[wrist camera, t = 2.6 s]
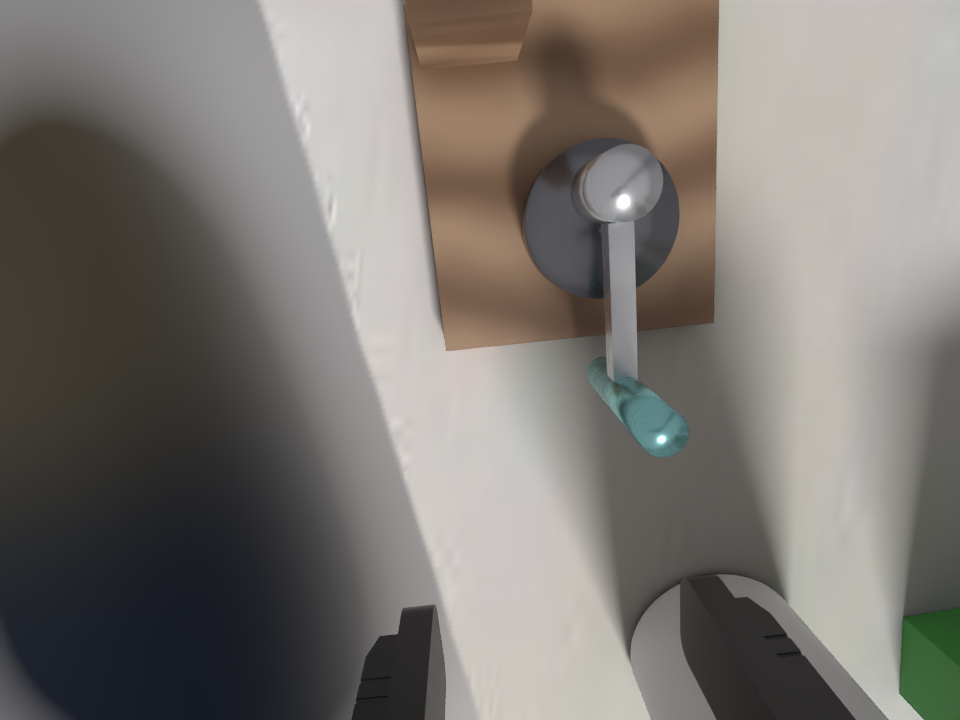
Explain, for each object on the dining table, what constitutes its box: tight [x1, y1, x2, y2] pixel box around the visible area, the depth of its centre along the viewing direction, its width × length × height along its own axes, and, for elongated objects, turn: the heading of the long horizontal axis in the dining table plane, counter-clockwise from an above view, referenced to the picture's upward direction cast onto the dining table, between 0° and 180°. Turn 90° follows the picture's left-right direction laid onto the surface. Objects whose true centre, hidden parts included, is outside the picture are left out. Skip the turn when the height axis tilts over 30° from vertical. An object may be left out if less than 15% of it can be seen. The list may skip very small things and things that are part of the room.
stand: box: [404, 0, 719, 351], centre depth 25 cm, size 18×16×8 cm
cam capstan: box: [521, 138, 689, 457], centre depth 24 cm, size 14×8×10 cm, turn 6°
